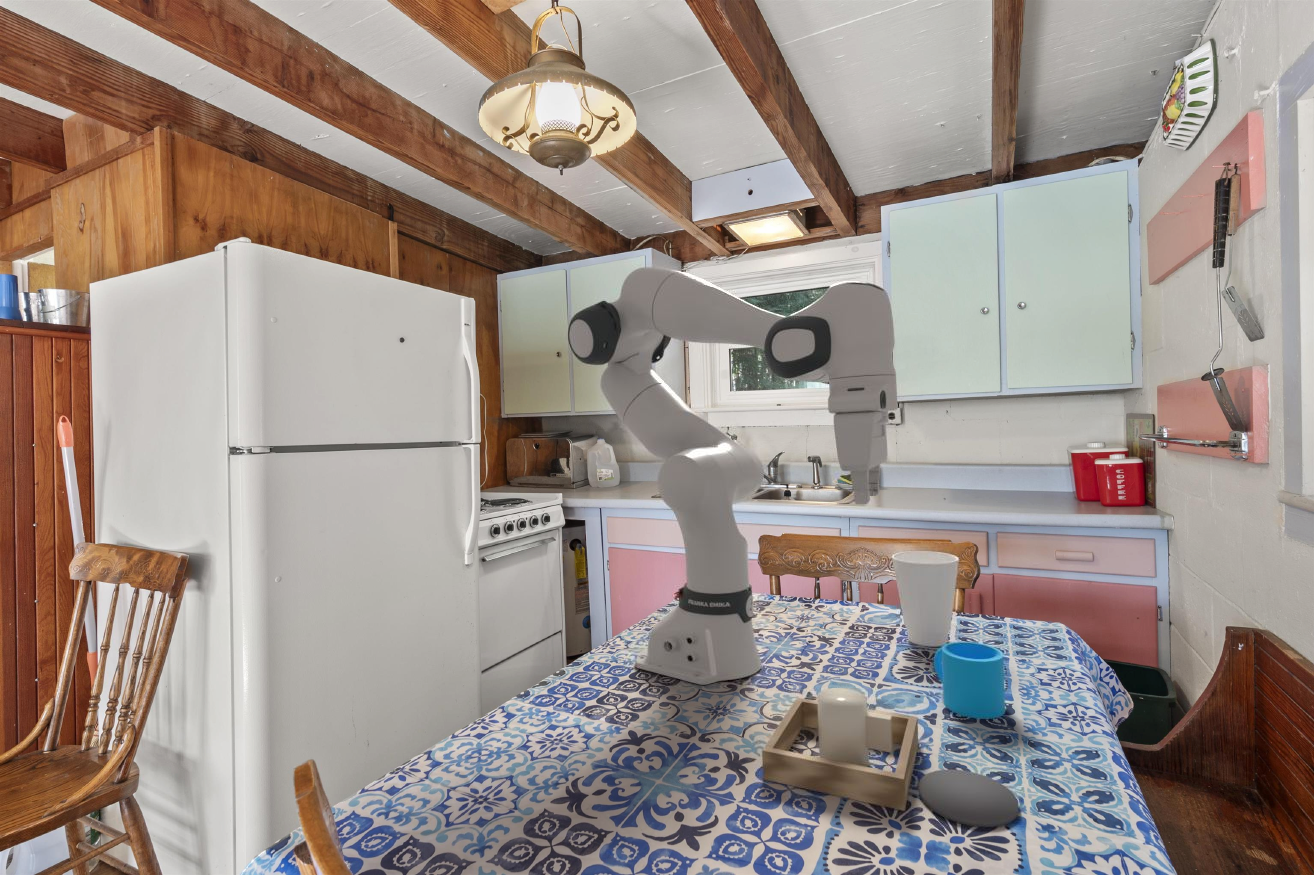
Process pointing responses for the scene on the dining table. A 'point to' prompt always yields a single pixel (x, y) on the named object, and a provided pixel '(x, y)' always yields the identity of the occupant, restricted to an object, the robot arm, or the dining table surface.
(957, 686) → the mug
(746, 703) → the dining table surface
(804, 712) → the holder
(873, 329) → the robot arm
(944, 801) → the grey oval disc
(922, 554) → the cup
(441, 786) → the dining table surface
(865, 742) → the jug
